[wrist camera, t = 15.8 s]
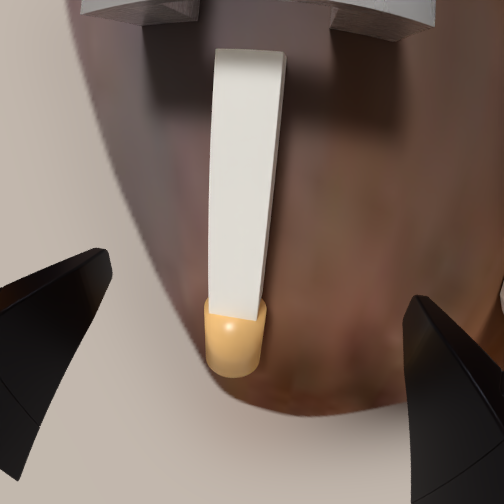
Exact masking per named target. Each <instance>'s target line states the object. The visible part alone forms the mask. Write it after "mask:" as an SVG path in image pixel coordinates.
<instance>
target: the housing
mask: <svg viewBox="0 0 504 504" xmlns="http://www.w3.org/2000/svg"><path fill="white" fill-rule="evenodd" d="M280 1H292V2H302V3H310V4H318V5H325V6H331V16H330V28H329V29H335V30H341V31H346V32H352V33H357V34H361V35H366V36H370V37H375V38H379V39H383V40H387V41H391V42H396V41H398V40H401V39H403V38H406V37H408V36H411V35H414V34H416V33H419V32H422V31H424V30H427V29H430V28H433V27H435V3H436V0H280ZM199 5H200V0H82V4H81V13H80V15H86V16H93V17H99V18H105V19H110V20H115V21H120V22H125V23H130V24H134V25H139V26H146V25H154V24H164V23H175V22H190V21H198V16H199Z"/></svg>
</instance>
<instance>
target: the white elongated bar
mask: <svg viewBox="0 0 504 504" xmlns="http://www.w3.org/2000/svg"><path fill="white" fill-rule="evenodd" d="M286 61H287V57H286V55H285V54H284V52H279V51H266V50H249V49H216V52H215V67H214V83H213V101H212V121H211V146H210V177H209V236H208V286H209V297H208V298H207V300H206V302H205V305H204V317H205V346H206V361H207V364H208V366H209V367H210V368H211V369H212V370H213V371H214V372H215V373H217V374H219V375H221V376H224V377H228V378H239V377H244V376H246V375H249V374H250V373H252V372H253V371H254V370H255V369H256V368H257V366H258V364H259V361H260V354H261V347H262V340H263V332H264V325H265V318H266V310H267V309H266V304H265V302H264V301H263V299H262V298H261V297H262V292H263V283H264V275H265V266H266V257H267V248H268V239H269V230H270V221H271V212H272V203H273V193H274V184H275V174H276V165H277V155H278V145H279V135H280V125H281V115H282V104H283V94H284V83H285V72H286Z"/></svg>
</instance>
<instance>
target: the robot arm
mask: <svg viewBox="0 0 504 504" xmlns="http://www.w3.org/2000/svg"><path fill="white" fill-rule="evenodd" d="M111 279H112V267H111V263H110V258H109V253H108V251H107V250H106V249H101V248H93V249H90V250H88V251H85V252H83V253H80V254H78V255H75V256H73V257H70V258H68V259H66V260H63V261H61V262H58V263H56V264H54V265H51V266H49V267H46V268H44V269H42V270H40V271H37V272H35V273H32V274H30V275H28V276H26V277H23V278H21V279H19V280H16V281H14V282H12V283H10V284H8V285H6V286H4V287H3V288H2V287H1V288H0V469H1V470H2V471H4V472H5V473H6V474H8V475H9V476H11V477H12V478H13V479H15V480H16V481H19V479H20V477H21V474H22V471H23V469H24V466H25V463H26V461H27V458H28V455H29V453H30V450H31V448H32V445H33V443H34V440H35V438H36V436H37V433H38V431H39V428H40V427H39V426H41V423H42V421H43V419H44V416H45V414H46V412H47V410H48V408H49V405H50V403H51V401H52V399H53V397H54V395H55V392H56V390H57V388H58V386H59V384H60V382H61V380H62V378H63V376H64V374H65V372H66V370H67V368H68V366H69V364H70V362H71V360H72V358H73V356H74V354H75V352H76V350H77V348H78V347H79V345H80V343H81V341H82V339H83V337H84V335H85V334H86V332H87V330H88V328H89V326H90V324H91V323H92V321H93V319H94V317H95V315H96V312H97V310H98V308H99V306H100V303H101V301H102V299H103V297H104V295H105V292H106V290H107V288H108V286H109V284H110V281H111ZM402 326H403V351H404V375H405V384H406V394H407V404H408V416H409V430H410V451H411V504H504V371H502V369H501V368H500V367H499V366H498V365H497V364H496V363H495V362H494V361H493V360H492V359H491V358H490V356H489V355H488V354H487V353H486V352H485V351H484V350H483V349H482V348H481V347H480V346H479V345H478V344H477V343H476V342H475V341H474V340H473V339H472V338H471V337H470V336H469V335H468V334H467V333H466V332H465V331H464V330H463V329H462V328H461V327H460V326H458V325H457V324H456V323H455V322H454V321H453V320H452V319H451V318H450V317H449V316H448V315H447V314H446V313H445V312H444V311H443V310H442V309H441V308H440V307H438V306H437V305H436V304H435V303H434V302H433V301H432V300H431V299H430V298H429V297H427V296H423V295H414V296H413V297H412V299H411V301H410V304H409V306H408V308H407V310H406V313H405V315H404V318H403V323H402Z"/></svg>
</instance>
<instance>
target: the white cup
mask: <svg viewBox="0 0 504 504" xmlns="http://www.w3.org/2000/svg"><path fill="white" fill-rule="evenodd" d="M500 299H501V306H502V311H503V313H504V282H503V285H502V289H501V292H500Z"/></svg>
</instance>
